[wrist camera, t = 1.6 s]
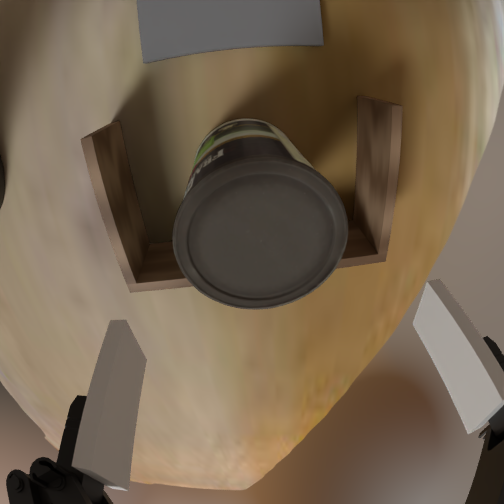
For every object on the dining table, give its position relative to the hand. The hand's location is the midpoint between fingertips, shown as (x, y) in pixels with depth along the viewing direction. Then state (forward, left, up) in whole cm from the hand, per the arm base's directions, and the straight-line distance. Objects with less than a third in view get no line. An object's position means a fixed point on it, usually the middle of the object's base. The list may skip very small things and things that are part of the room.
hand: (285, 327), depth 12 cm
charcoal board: (-13, +15, -20) cm, 29 cm away
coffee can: (0, 0, -20) cm, 20 cm away
